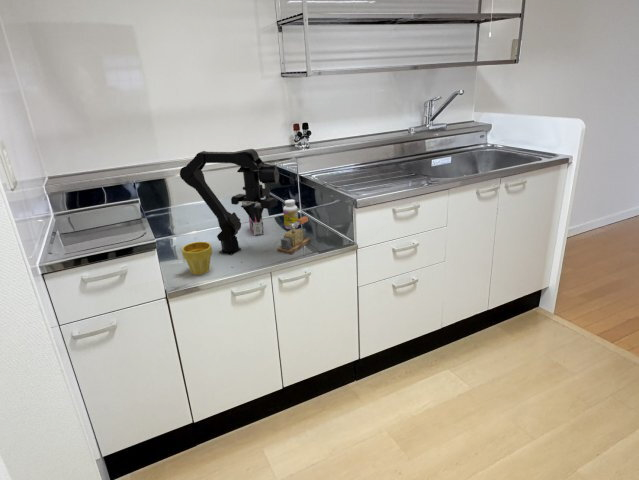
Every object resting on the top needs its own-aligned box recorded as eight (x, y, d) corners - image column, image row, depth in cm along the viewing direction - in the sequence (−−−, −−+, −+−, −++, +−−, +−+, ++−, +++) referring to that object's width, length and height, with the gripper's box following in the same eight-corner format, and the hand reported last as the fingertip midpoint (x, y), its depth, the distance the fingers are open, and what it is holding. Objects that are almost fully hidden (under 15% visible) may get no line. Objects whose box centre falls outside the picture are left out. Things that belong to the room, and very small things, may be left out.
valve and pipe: (289, 250, 163) (288, 234, 161) (279, 248, 165) (278, 232, 163) (307, 238, 174) (306, 223, 172) (298, 236, 177) (297, 221, 174)
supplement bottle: (281, 228, 191) (279, 202, 186) (289, 224, 196) (287, 198, 192) (294, 230, 188) (292, 203, 183) (301, 225, 194) (299, 199, 189)
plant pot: (218, 272, 151) (214, 247, 147) (190, 279, 146) (185, 254, 143) (210, 262, 159) (206, 239, 156) (183, 269, 155) (178, 245, 151)
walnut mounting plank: (291, 254, 163) (291, 251, 162) (277, 251, 166) (276, 248, 166) (310, 241, 175) (310, 238, 174) (297, 238, 178) (296, 235, 177)
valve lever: (293, 229, 166) (293, 224, 165) (288, 228, 167) (288, 224, 166) (308, 220, 174) (308, 216, 174) (303, 219, 176) (303, 215, 175)
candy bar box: (264, 234, 185) (260, 199, 179) (253, 236, 184) (249, 201, 177) (260, 226, 195) (256, 193, 189) (249, 228, 194) (245, 194, 187)
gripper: (284, 180, 158) (287, 218, 164) (246, 176, 167) (250, 213, 172) (266, 187, 149) (270, 227, 155) (227, 183, 158) (232, 221, 164)
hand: (256, 222), depth 162 cm, fingers closed
